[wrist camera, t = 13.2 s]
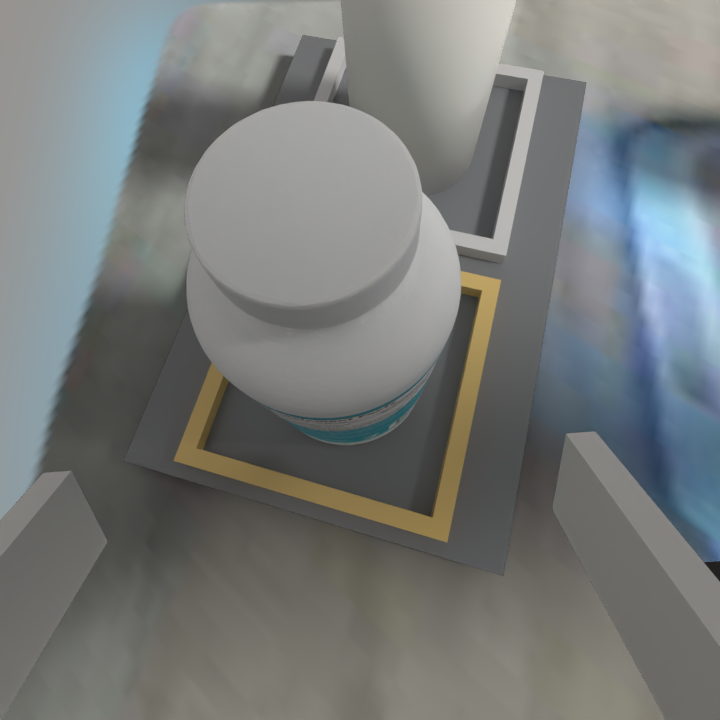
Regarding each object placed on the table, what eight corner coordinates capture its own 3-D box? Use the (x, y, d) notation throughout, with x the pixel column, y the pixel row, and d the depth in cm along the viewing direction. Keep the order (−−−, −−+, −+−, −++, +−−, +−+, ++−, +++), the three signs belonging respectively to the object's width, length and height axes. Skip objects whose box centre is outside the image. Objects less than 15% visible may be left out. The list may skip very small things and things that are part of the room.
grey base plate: (575, 103, 27) (592, 69, 25) (494, 569, 20) (509, 580, 18) (306, 57, 29) (300, 22, 27) (140, 463, 22) (113, 459, 20)
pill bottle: (283, 298, 22) (156, 40, 10) (425, 305, 22) (494, 47, 9) (263, 443, 20) (65, 364, 7) (420, 454, 20) (501, 392, 7)
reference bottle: (486, 108, 26) (602, -312, 12) (462, 210, 24) (569, -158, 10) (368, 89, 26) (357, -324, 13) (336, 185, 24) (283, -185, 11)
